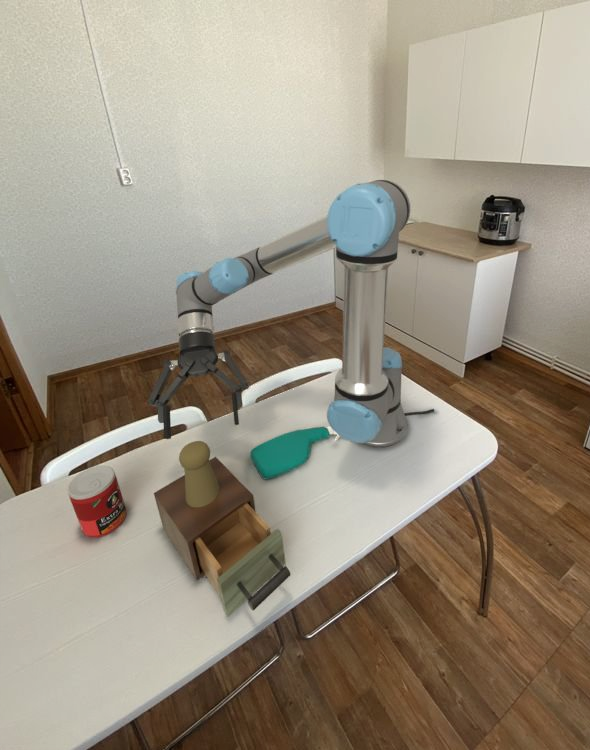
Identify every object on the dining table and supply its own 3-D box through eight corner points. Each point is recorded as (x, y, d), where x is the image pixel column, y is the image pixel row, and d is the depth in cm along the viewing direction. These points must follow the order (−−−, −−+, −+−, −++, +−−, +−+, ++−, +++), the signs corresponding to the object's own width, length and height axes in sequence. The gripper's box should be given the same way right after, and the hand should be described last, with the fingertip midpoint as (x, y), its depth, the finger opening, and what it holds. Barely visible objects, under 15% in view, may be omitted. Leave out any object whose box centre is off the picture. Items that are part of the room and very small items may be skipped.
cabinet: (258, 531, 75) (253, 494, 72) (196, 581, 67) (187, 542, 63) (221, 490, 85) (215, 456, 81) (163, 529, 76) (153, 493, 73)
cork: (226, 487, 74) (218, 441, 70) (202, 512, 69) (192, 464, 65) (203, 476, 76) (194, 432, 72) (178, 500, 71) (167, 453, 67)
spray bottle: (248, 456, 94) (334, 419, 107) (264, 485, 86) (356, 442, 99) (247, 446, 93) (334, 410, 106) (263, 475, 85) (355, 432, 98)
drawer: (303, 583, 65) (300, 551, 63) (244, 642, 57) (237, 609, 55) (245, 518, 77) (240, 489, 74) (189, 560, 69) (181, 529, 67)
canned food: (106, 542, 74) (91, 500, 70) (72, 535, 75) (55, 493, 71) (136, 508, 81) (124, 468, 77) (104, 502, 82) (90, 462, 78)
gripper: (253, 333, 95) (264, 420, 87) (141, 349, 88) (142, 446, 80) (251, 322, 88) (263, 416, 80) (130, 338, 81) (130, 443, 73)
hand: (203, 431), depth 80 cm, fingers open, 13 cm apart
